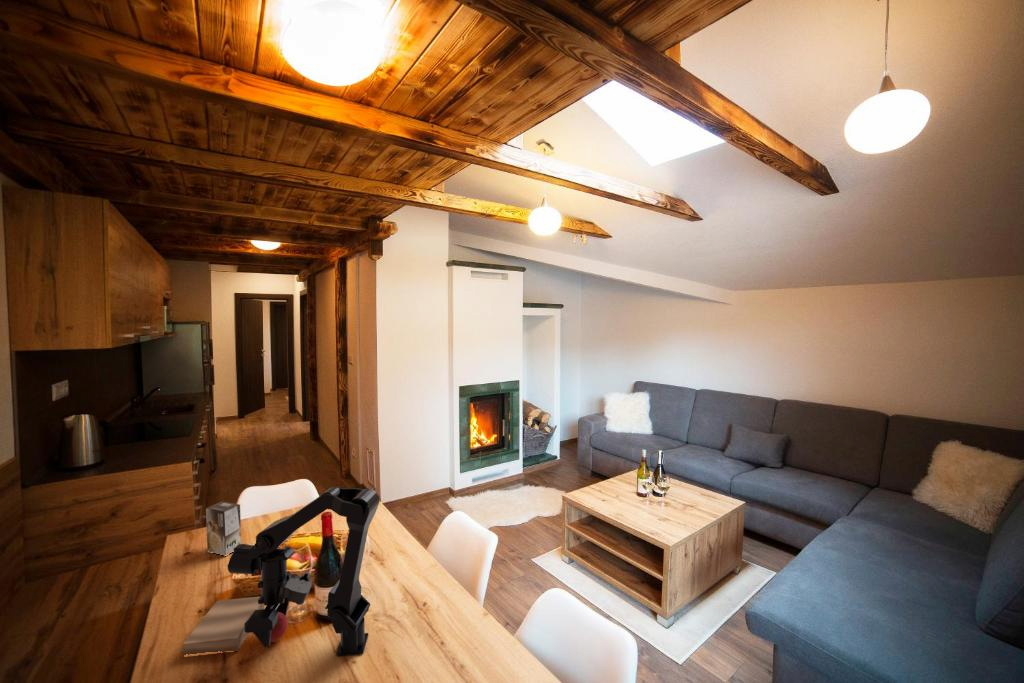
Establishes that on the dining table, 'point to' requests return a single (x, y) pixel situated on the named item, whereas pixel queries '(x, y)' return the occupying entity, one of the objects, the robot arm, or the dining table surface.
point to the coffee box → (223, 527)
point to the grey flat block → (222, 626)
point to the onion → (279, 627)
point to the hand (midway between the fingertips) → (275, 633)
